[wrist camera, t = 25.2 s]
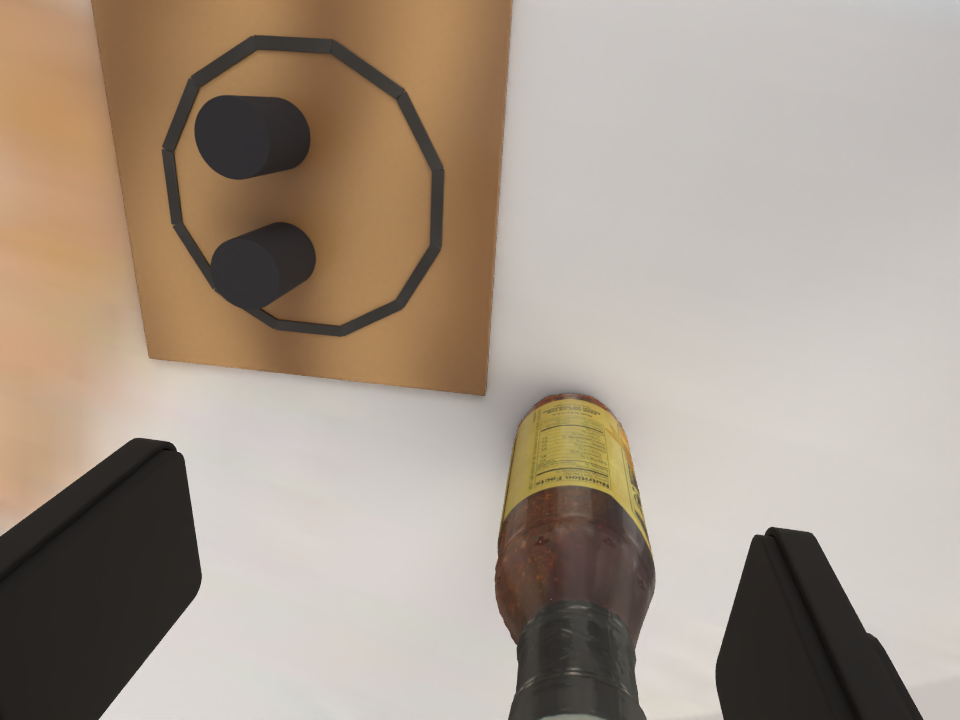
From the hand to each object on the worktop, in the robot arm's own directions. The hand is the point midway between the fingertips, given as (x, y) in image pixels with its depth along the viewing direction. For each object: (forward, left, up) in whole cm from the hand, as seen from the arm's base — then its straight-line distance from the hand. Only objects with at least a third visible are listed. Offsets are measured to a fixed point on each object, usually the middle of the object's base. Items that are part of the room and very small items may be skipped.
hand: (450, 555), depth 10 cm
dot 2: (+13, -5, -23) cm, 27 cm away
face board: (+12, -2, -23) cm, 26 cm away
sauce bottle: (-3, +10, -23) cm, 26 cm away
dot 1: (+13, +1, -23) cm, 26 cm away
